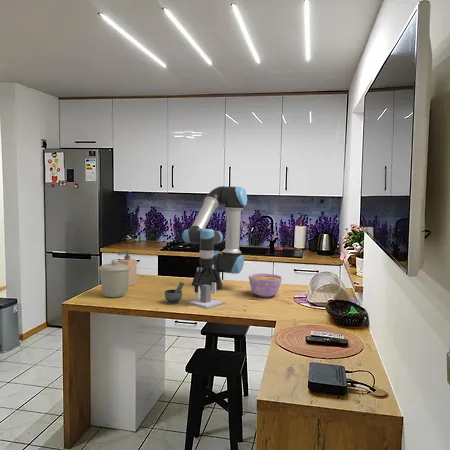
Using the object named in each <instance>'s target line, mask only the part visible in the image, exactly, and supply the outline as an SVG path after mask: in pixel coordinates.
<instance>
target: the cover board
mask: <svg viewBox="0 0 450 450" xmlns="http://www.w3.org/2000/svg"><path fill="white" fill-rule="evenodd" d="M211 291H212V290H211V285H206V284H205V285H201V288H200V298H199V299H198V298H196V299H194V300H189V301H188V302H189V304H193V305H197V306H201V307H205V308H208V307H212V306H215V305H218V304H222V303H223V301H221V300H217V299H213V298H211V297H212V296H211V295H212V294H211ZM189 304H188V305H189ZM193 305H192V306H193ZM212 308H213V307H212Z"/></svg>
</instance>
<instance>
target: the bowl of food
mask: <svg viewBox="0 0 450 450" xmlns="http://www.w3.org/2000/svg"><path fill="white" fill-rule="evenodd" d="M248 279H249V280H248V281H249V285H250V289H251V291H252V293H253V294H255V295H257V296H258V297H260V298H271V297H272V296H275V295H276V294H277V293H278V292H279V291H280V287H281V284H282V280H283V277H282V276H280V275H277V274H273V273H252V274H249V275H248Z"/></svg>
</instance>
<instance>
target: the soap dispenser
mask: <svg viewBox="0 0 450 450" xmlns="http://www.w3.org/2000/svg"><path fill="white" fill-rule="evenodd" d="M117 255H119V256H121V255H124V258H121V259H117V261H118V263H120V264H126V265H128V266H130V267H131V268H130V269H129V278H128V286H127V288H128V287H132V286H135V285H137V263H138V262H137V260H138V259H136V258H131V255H129V250H124V251H118V253H117Z"/></svg>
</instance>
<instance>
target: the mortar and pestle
mask: <svg viewBox="0 0 450 450" xmlns="http://www.w3.org/2000/svg"><path fill="white" fill-rule="evenodd" d="M184 286H185V283H184V282H183V281H179V284H178V286H177V287H176V289H167V290H165V291H164V298H165V300H166V301H167V304H169V305H177V304H179V302H180V301H181V299H182V298H183V287H184Z"/></svg>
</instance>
